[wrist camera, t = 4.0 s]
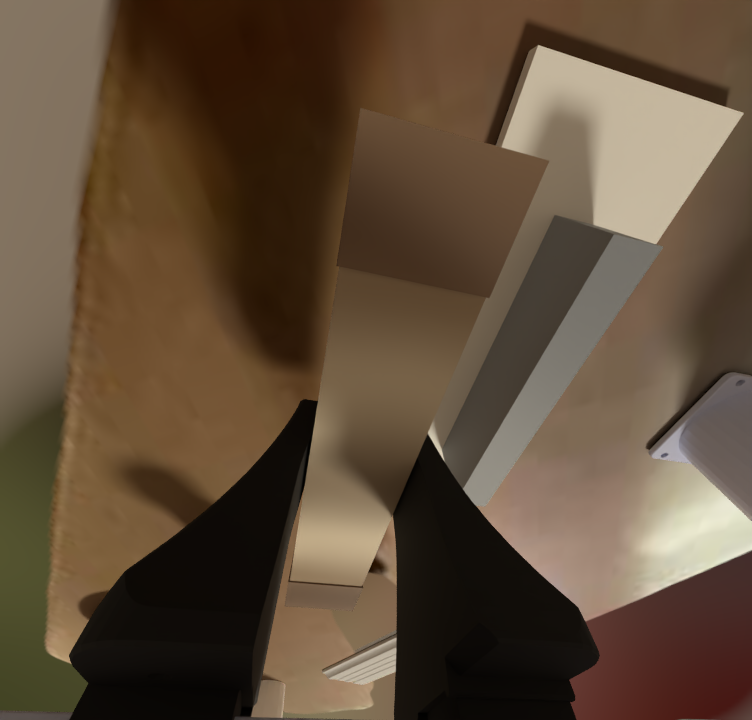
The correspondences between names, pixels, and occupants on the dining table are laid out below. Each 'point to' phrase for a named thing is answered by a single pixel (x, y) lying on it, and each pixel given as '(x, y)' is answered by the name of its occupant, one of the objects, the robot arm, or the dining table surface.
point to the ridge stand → (570, 247)
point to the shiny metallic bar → (397, 330)
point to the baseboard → (367, 662)
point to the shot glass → (270, 699)
